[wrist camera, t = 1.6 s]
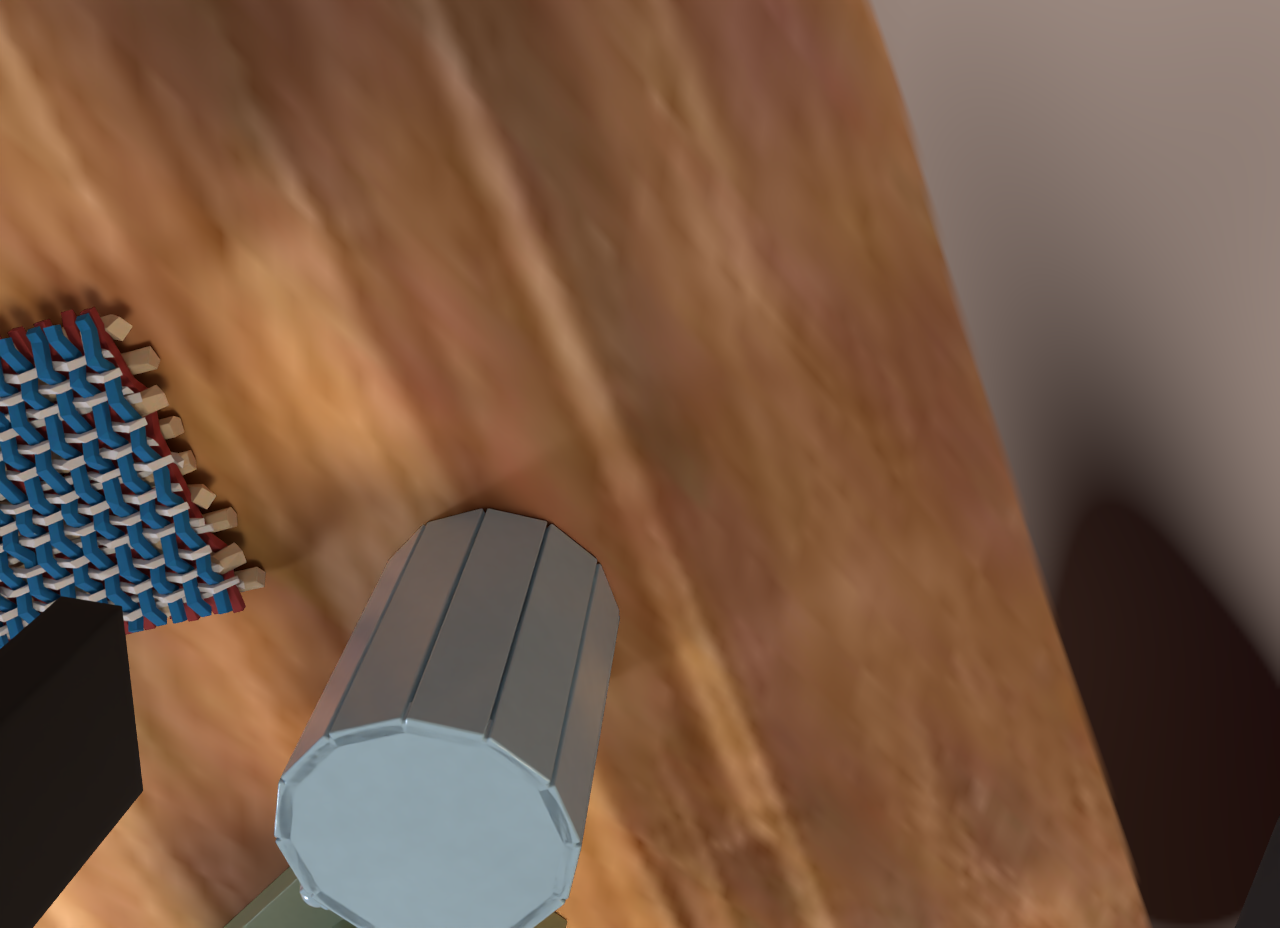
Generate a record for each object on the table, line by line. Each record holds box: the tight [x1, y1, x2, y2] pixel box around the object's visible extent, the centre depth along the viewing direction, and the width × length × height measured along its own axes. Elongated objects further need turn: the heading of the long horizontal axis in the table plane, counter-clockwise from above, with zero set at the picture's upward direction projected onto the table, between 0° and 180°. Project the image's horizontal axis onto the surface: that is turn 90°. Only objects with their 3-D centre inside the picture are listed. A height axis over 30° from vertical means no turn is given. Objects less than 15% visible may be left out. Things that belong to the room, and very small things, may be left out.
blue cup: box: [274, 508, 620, 928], centre depth 35 cm, size 8×10×10 cm
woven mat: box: [0, 307, 266, 649], centre depth 37 cm, size 10×11×2 cm
